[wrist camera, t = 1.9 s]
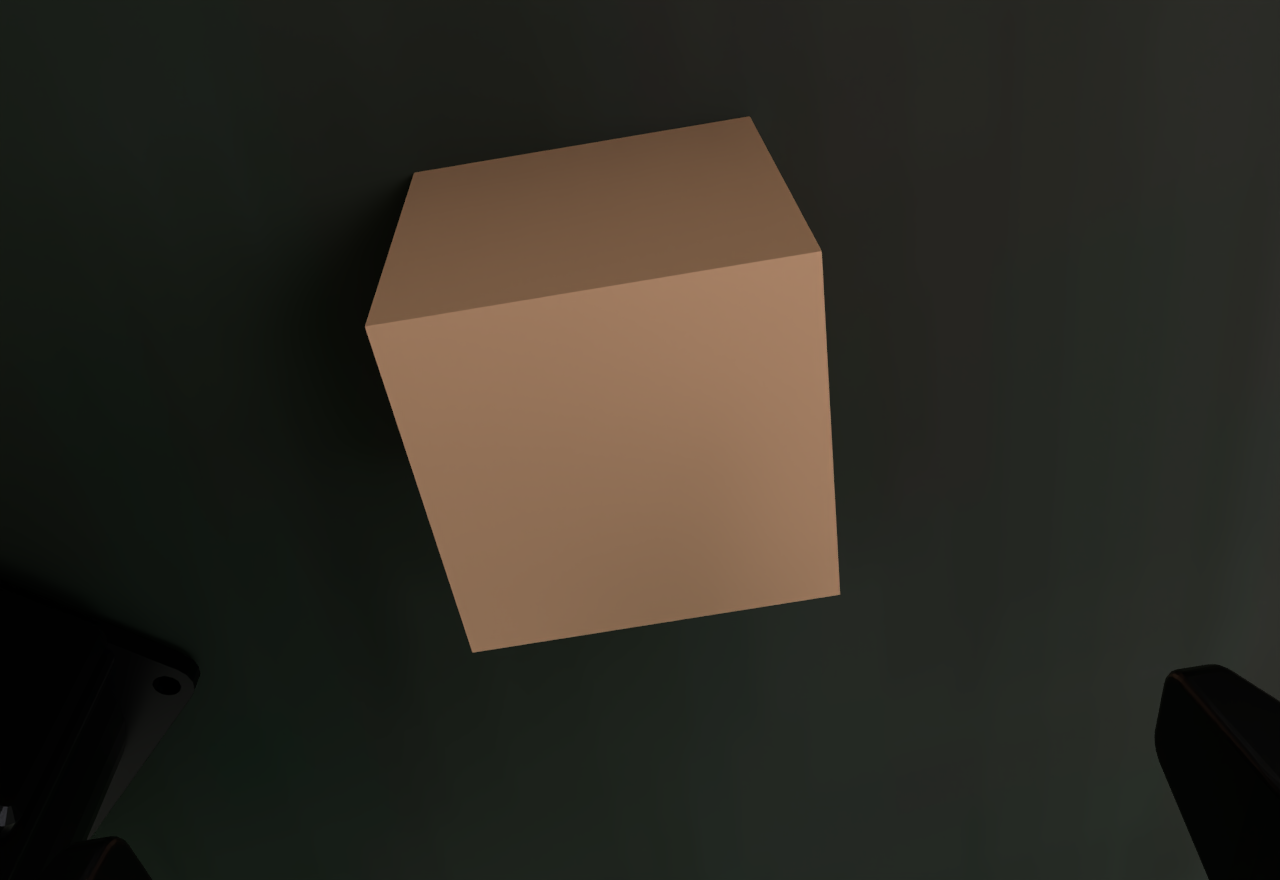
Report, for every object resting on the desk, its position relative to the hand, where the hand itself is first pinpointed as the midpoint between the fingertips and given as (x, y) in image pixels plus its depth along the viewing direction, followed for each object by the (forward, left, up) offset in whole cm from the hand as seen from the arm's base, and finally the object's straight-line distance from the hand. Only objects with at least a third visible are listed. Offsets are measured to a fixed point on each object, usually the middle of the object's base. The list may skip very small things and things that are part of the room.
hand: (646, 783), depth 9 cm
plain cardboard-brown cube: (0, 0, -10) cm, 10 cm away
